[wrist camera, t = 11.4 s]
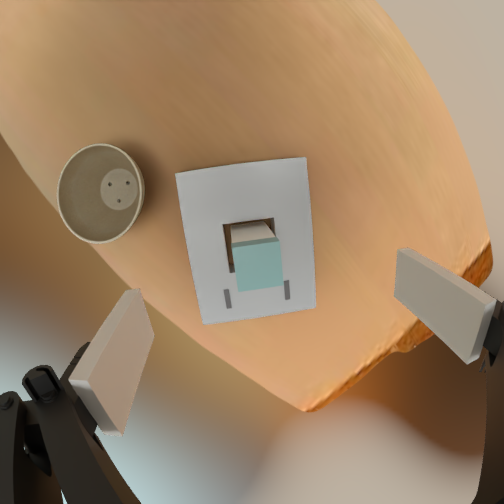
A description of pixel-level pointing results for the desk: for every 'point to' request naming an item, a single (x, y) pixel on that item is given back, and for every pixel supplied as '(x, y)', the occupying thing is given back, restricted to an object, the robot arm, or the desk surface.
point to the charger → (256, 256)
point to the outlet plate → (239, 210)
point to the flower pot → (100, 193)
